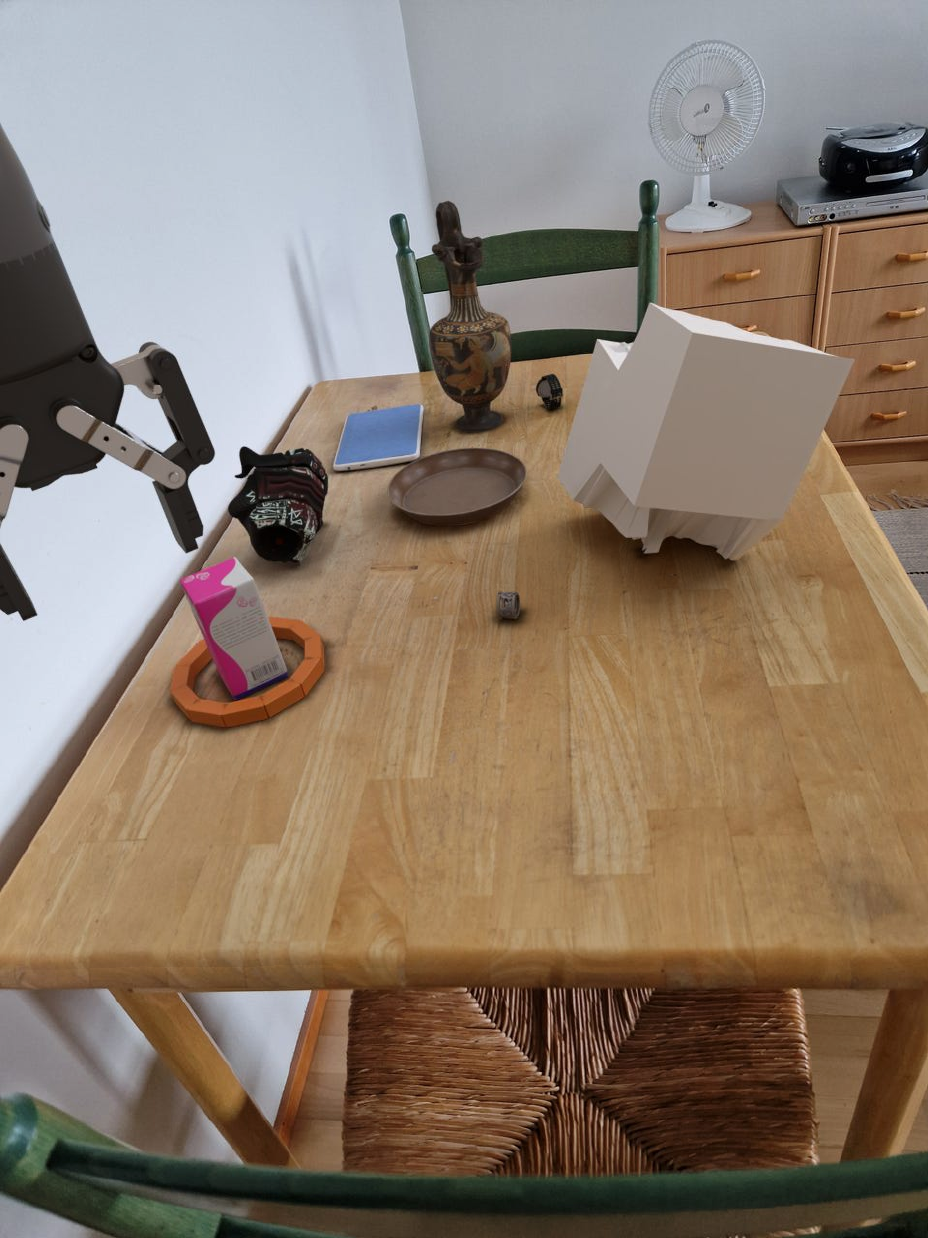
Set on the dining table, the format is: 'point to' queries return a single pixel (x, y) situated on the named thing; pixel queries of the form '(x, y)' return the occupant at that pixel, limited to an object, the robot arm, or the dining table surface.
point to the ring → (254, 706)
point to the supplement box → (235, 627)
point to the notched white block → (698, 430)
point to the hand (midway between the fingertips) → (110, 578)
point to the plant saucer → (457, 485)
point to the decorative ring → (508, 605)
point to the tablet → (380, 438)
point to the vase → (468, 330)
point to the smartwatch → (550, 391)
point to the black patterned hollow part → (281, 502)
